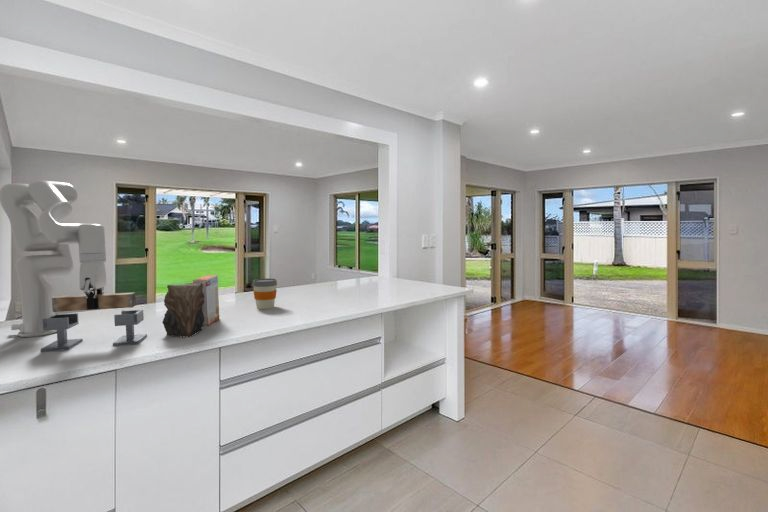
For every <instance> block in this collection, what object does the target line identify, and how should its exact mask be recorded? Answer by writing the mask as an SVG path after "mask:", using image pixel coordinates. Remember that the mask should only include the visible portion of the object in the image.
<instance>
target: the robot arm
mask: <svg viewBox="0 0 768 512" xmlns="http://www.w3.org/2000/svg"><path fill="white" fill-rule="evenodd" d="M77 199H78V191H77V189H76V188H75V187H74V186H73V184H70V183H69V182H63V181H62V182H61V181H51V180H44V179H43V180H41V179H40V180H36V181H31V182H30V183H15V182H14V183H7V184H4V185H2V187H1V188H0V205H1V208H2V209H3V211H4V213H5V214H6V216H7V218H8V220H9V223H10V228H11V231H12V236H13V241H14V244H15V246H16V249H17V250H18V251H19V252H22V253H28V254H29V253H34V255H33V254H31V255H25V256H22V257H20V258H18V259H17V260H16V262H15V263H14V265H15V266H14V267H15V272H16V275H17V278H18V282H19V288H20V289H19V291H20V301H21V303H20V304H21V316H22V317H21V318H22V323H18V324H17V323H16V324H11V326H10V327H11V331H17V330H18V333H17V336H18V337H20V338H30V337H32V338H33V337H40V336H46V335H52V334H55V333H57V330H48V331H43V319H45V318H47V317H50V316H52V315H55V314H56V312H53V309H52V298H53V297H55V295H54V288H53V285H51V284H50V282H48V281H47V279H50V278H58V277H59V278H60V277H66V276H70V275H71V274H72V272H73V271H74V261H73V257H72V252H71V249H70V245H78V255H79V257H78V258H79V263H80V266H79V290H80V291H83V293H84V295H86V299H87V309H88V310H87V311H90V310H89V309H97V310H99V309H98V298H96V297H97V294H105V293H104V292H105V291H104V289H105V287H106V286H107V272H106V271H107V270H106V265H105V262H107V255H106V254H107V252H106V236H105V227H104V225H102V224H99V223H75V222H74V223H72V222H71V223H65V222H64V223H60V222H57V221H59V220H62V219H65V218H66V217H68V216H69V215H70V214H71V213H72V211H73V205H72V204H74V203H75V202H76V201H77ZM27 206H33V207H39V209H40V210H41V211H42V212H41V214H40V216H38V215H37V214H36V213H35V212H34V211H33V210H32V209H30V208H29V207H27ZM35 253H50V254H35Z"/></svg>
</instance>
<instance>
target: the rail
mask: <svg viewBox="0 0 768 512" xmlns="http://www.w3.org/2000/svg"><path fill="white" fill-rule="evenodd" d="M96 298H98V309H89V310H88V309H87V299H86V294H75V295H74V294H73V295H57V296H54V297H53V298H52V309H53V312H55V313H59V312H76V311H77V312H78V311H91V310H92V311H94V310H110V309H111V310H112V309H127V308H129V309H130V308H134V307H136V306H137V297H136V292H133V291H132V292H116V293H104V294H97V297H96Z"/></svg>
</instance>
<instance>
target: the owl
mask: <svg viewBox="0 0 768 512" xmlns="http://www.w3.org/2000/svg"><path fill="white" fill-rule="evenodd" d="M202 289H203V285H202V283H200V284H194V283H193V282H192V283H191V282H188V283H184V284H167V292H166V294H165V295H164V299H163V302H164V304H163V305H164V306H165V308H166V309H167V310H166V312H165V313H164V317H163V319H162V324H163V328H164V330H165V332H166V336H168V335H169V337H170V336H171V337H180V336H182V337H181V338H191V337H193V336H194V334H195V333H196V334H198V333H199V332H201V331H203V329H202V328H203V327H204V326H203V323H204V315H203V312H202V306H203V304H204V293H203V291H202ZM197 332H198V333H197ZM196 334H195V335H196ZM192 335H193V336H192ZM183 336H185V337H183ZM190 336H191V337H190Z"/></svg>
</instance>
